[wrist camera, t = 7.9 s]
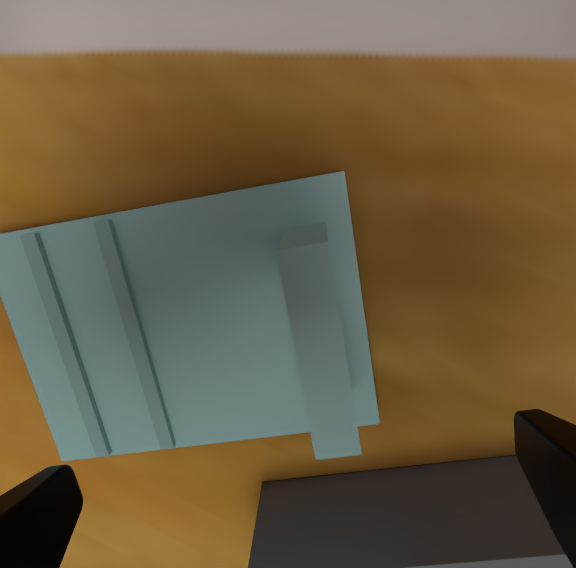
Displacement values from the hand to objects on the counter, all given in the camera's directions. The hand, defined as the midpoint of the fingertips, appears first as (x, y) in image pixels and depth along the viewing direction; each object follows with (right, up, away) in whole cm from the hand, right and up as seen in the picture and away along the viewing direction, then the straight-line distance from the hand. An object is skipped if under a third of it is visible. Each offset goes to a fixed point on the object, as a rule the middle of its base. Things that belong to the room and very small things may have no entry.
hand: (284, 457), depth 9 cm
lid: (-4, +2, +10) cm, 11 cm away
